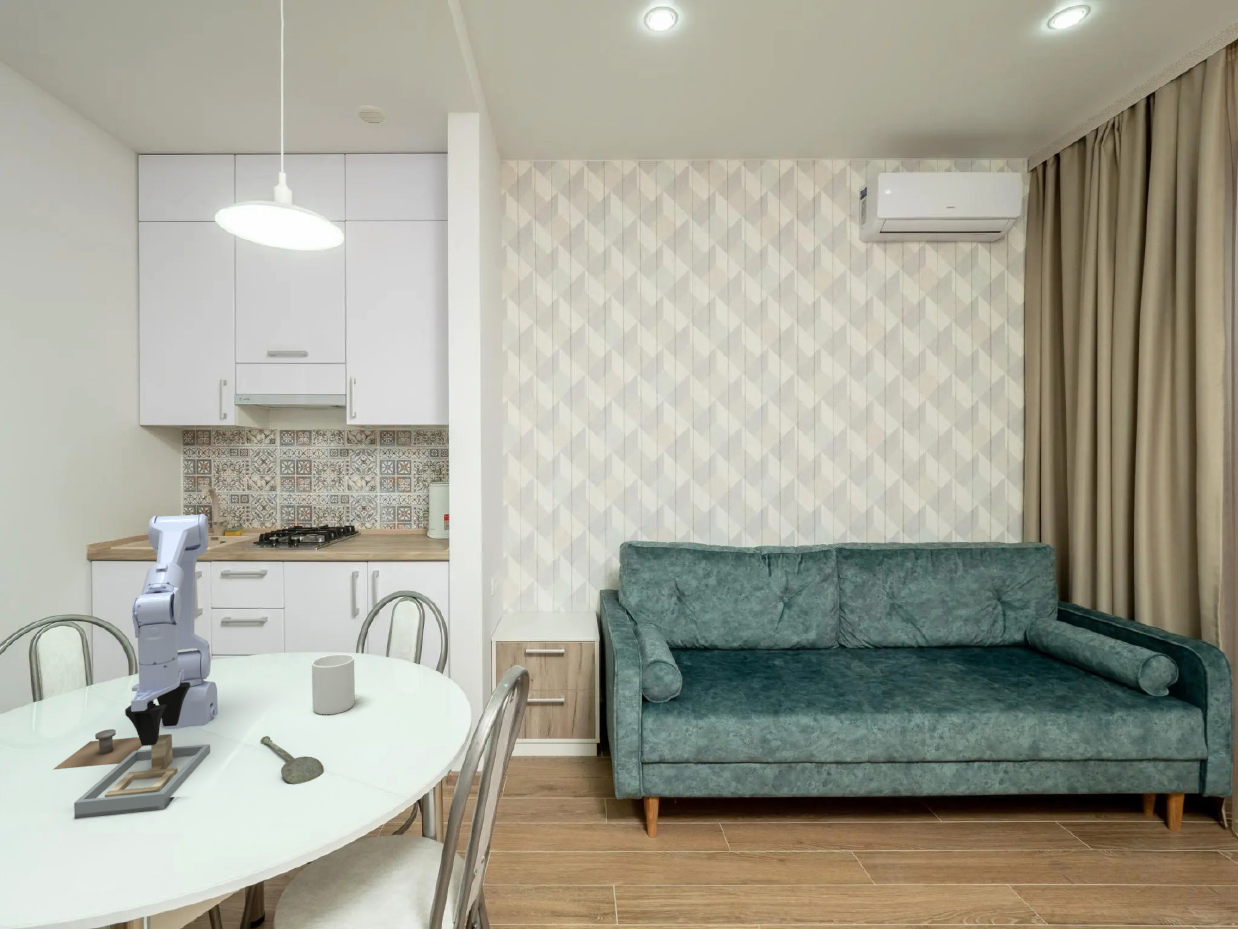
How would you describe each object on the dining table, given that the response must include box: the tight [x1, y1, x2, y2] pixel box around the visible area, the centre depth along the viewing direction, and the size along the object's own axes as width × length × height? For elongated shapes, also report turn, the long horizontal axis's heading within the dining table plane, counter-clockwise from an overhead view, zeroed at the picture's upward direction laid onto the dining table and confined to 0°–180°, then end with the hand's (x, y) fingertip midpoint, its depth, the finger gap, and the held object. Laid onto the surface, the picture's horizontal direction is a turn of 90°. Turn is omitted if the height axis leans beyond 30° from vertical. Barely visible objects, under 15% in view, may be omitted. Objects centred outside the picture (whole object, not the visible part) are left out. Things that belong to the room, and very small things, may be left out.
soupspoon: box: [260, 735, 325, 785], centre depth 120 cm, size 22×3×7 cm
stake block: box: [53, 728, 143, 770], centre depth 121 cm, size 11×11×5 cm
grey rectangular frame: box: [73, 743, 211, 819], centre depth 111 cm, size 13×18×2 cm
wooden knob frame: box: [104, 733, 179, 797], centre depth 111 cm, size 12×8×6 cm, turn 12°
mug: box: [311, 653, 356, 715], centre depth 145 cm, size 9×12×11 cm
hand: (160, 734), depth 116 cm, fingers open, 7 cm apart
